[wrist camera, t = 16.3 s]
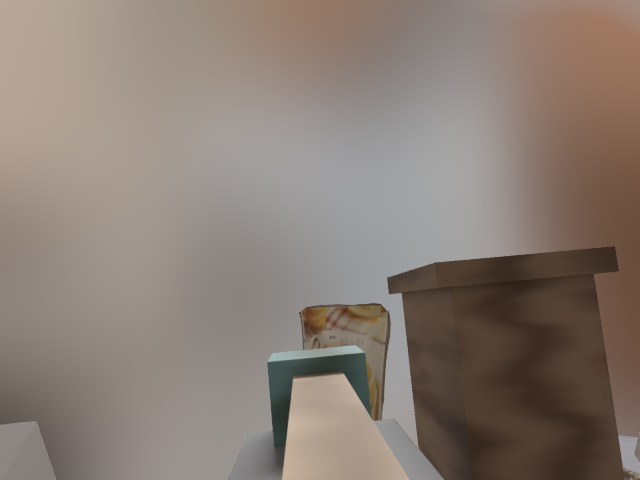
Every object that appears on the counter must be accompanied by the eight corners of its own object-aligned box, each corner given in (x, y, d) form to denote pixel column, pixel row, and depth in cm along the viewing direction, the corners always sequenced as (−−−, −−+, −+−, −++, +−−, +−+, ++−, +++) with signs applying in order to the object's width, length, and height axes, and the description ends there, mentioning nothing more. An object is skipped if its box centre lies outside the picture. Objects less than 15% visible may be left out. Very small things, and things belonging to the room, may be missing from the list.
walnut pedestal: (500, 825, 29) (435, 262, 32) (424, 625, 47) (387, 277, 50) (700, 797, 29) (614, 246, 33) (549, 610, 47) (504, 267, 51)
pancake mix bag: (337, 505, 76) (319, 305, 79) (421, 554, 59) (393, 298, 63) (294, 517, 73) (277, 309, 76) (369, 573, 56) (343, 303, 60)
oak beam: (199, 838, 9) (180, 509, 9) (278, 424, 38) (272, 353, 39) (566, 788, 9) (525, 472, 9) (362, 416, 39) (355, 345, 39)
